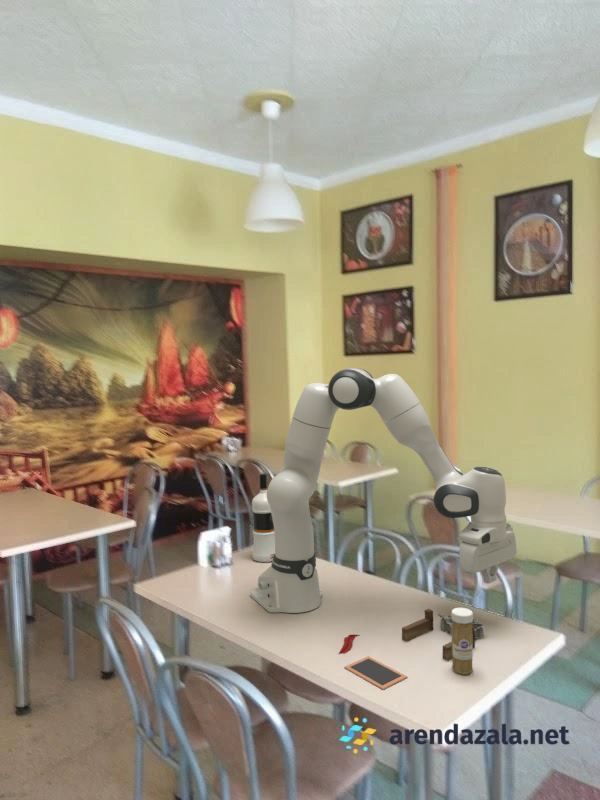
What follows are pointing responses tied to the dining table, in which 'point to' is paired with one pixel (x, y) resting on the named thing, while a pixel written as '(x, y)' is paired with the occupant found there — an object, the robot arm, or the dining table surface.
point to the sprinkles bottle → (462, 640)
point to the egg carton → (447, 626)
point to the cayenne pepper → (347, 644)
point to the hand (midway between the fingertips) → (489, 581)
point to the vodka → (262, 525)
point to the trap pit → (376, 672)
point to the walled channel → (426, 626)
